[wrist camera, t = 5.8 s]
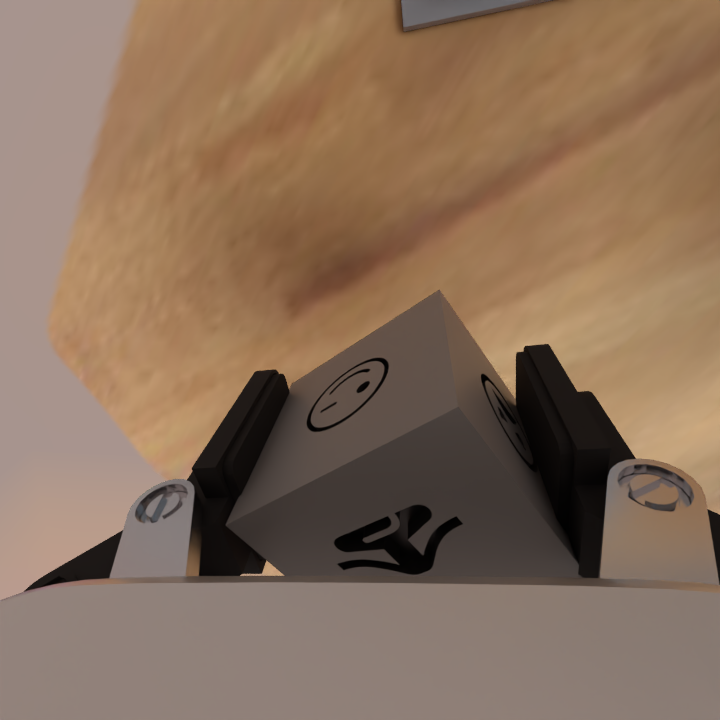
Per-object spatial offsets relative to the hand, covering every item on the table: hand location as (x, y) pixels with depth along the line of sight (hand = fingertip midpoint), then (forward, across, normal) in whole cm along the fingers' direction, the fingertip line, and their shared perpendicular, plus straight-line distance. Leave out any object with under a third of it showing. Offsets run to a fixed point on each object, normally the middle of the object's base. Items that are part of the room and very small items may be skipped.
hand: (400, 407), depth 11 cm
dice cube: (+1, 0, 0) cm, 1 cm away
